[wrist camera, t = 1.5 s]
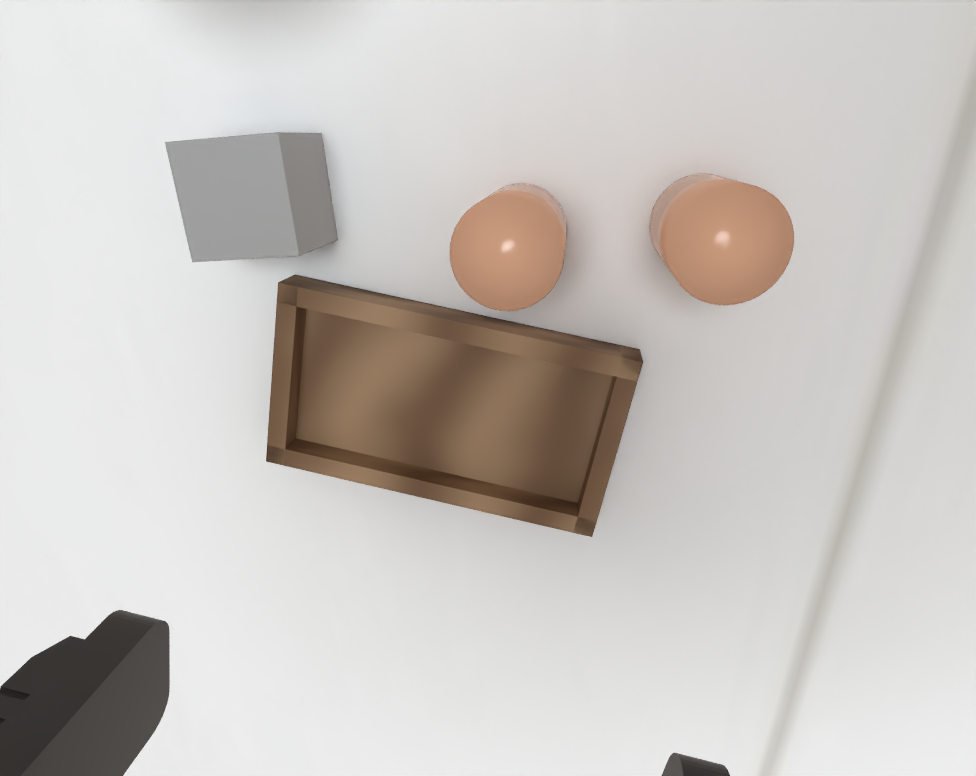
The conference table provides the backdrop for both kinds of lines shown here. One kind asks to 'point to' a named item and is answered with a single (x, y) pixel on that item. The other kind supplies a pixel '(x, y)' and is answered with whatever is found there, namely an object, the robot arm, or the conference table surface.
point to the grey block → (253, 195)
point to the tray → (447, 403)
